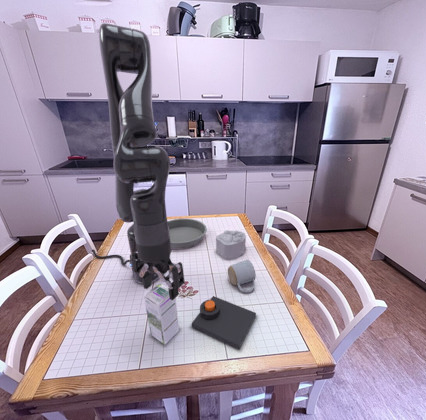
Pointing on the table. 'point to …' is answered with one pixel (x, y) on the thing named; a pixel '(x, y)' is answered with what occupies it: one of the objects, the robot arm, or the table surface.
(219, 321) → the black button base
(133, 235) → the robot arm
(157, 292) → the syrup box
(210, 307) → the button
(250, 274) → the ceramic mug
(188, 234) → the cake pan
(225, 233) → the lumpy-topped squat cylinder
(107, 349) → the table surface
